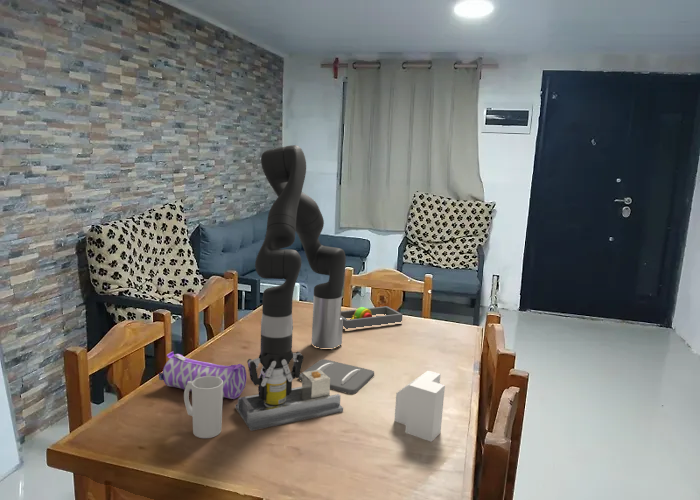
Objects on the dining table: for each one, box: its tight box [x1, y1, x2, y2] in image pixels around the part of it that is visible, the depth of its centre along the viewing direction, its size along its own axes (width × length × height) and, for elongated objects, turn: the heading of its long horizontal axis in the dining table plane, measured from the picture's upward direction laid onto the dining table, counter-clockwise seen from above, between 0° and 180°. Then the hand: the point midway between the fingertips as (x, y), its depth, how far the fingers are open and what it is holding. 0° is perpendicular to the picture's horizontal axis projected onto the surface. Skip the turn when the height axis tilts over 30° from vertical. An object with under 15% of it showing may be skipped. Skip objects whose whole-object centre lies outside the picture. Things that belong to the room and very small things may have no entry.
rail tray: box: [235, 370, 344, 432], centre depth 135 cm, size 24×12×9 cm, turn 119°
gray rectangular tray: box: [341, 305, 403, 329], centre depth 205 cm, size 24×11×4 cm, turn 119°
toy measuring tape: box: [350, 306, 385, 320], centre depth 207 cm, size 6×20×7 cm, turn 133°
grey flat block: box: [297, 358, 375, 395], centre depth 156 cm, size 18×3×15 cm
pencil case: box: [158, 351, 247, 400], centre depth 143 cm, size 22×9×10 cm, turn 73°
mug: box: [183, 376, 224, 439], centre depth 123 cm, size 10×7×12 cm, turn 64°
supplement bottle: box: [264, 368, 286, 408], centre depth 133 cm, size 5×5×10 cm
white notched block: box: [394, 370, 446, 442], centre depth 131 cm, size 11×11×12 cm
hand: (274, 396), depth 133 cm, fingers closed on supplement bottle, 5 cm apart
